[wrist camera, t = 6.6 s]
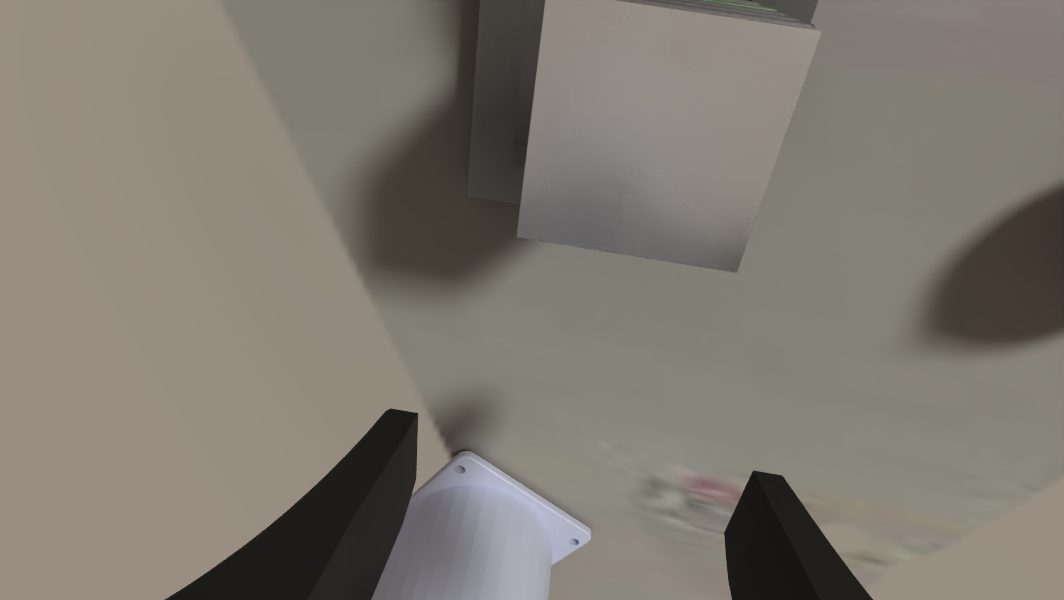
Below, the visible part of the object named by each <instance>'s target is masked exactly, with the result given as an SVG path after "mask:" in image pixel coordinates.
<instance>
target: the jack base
mask: <svg viewBox="0 0 1064 600" xmlns="http://www.w3.org/2000/svg"><path fill="white" fill-rule="evenodd" d="M749 1H755V2H759V5H761V6H763V7H769V8H774V9H776V10H777V11H776V12H783V13H786V14H787V16H789V17H795V18H798V19H800V21H799V22H805V23H811V20H812V17H813V14H814V11H815V8H816V5H817V2H818V0H749ZM544 7H545V0H480V7H479V22H478V36H477V51H476V65H475V80H474V94H473V109H472V123H471V137H470V152H469V166H468V181H467V195H466V197H472V198H478V199H485V200H491V201H497V202H503V203H510V204H516V205H520V204H521V196H522V188H523V180H524V171H525V163H526V155H527V147H528V139H529V130H530V122H531V114H532V106H533V98H534V89H535V81H536V73H537V65H538V57H539V48H540V40H541V32H542V24H543V16H544Z"/></svg>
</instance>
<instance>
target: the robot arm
mask: <svg viewBox="0 0 1064 600" xmlns="http://www.w3.org/2000/svg"><path fill="white" fill-rule="evenodd" d="M417 431H418V413H413V412H408V411H402V410H396V409H389V410H387V411H386V412H385V413H384V414H383V415H382V416H381V417H380V418H379V420H378V421H377V422H376V423H375V424H374V426H373V427H372V428H371V429H370V430H369V431H368V432H367V434H365V436H364V437H363V438H362V439H361V440H360V441H359V442H358V443H357V444H356V445H355V446H354V447H353V449H352V450H351V451H350V452H349V453H348V454H347V455H346V456H345V457H344V458H343V459H342V460H341V461H340V462H339V463H338V464H337V465H336V466H335V467H334V468H333V469H332V470H331V471H330V472H329V473H328V474H327V475H326V476H325V477H324V478H323V479H322V480H321V481H320V482H319V483H318V484H317V485H315V486H314V487H313V488H312V489H311V490H310V491H309V492H308V493H307V494H306V495H304V496H303V497H302V498H301V499H300V500H299V501H298V502H297V503H295V504H294V505H293V506H292V507H291V508H290V509H289V510H288V511H287V512H285V513H284V514H283V515H282V516H281V517H280V518H278V519H277V520H276V521H275V522H273V523H272V524H271V525H270V526H269V527H267V528H266V529H265V530H264V531H262V532H261V533H260V534H259V535H257V536H256V537H255V538H253V539H252V540H251V541H250V542H248V543H247V544H246V545H244V546H243V547H242V548H241V549H239V550H238V551H236V552H235V553H234V554H232V555H231V556H229V557H228V558H227V559H226V560H224V561H222V562H221V563H220V564H218V565H217V566H216V567H214V568H213V569H211V570H210V571H208V572H207V573H205V574H204V575H203V576H201V577H200V578H198V579H197V580H195V581H194V582H192V583H191V584H189V585H188V586H186V587H185V588H183V589H181V590H180V591H178V592H176V593H175V594H173V595H172V596H170V597H169V598H167V599H165V600H548V596H549V585H550V574H551V566H552V565H553V564H555V563H556V562H558V561H560V560H561V559H563V558H564V557H566V556H567V555H569V554H570V553H572V552H573V551H575V550H576V549H578V548H579V547H581V546H583V545H584V544H586V543H587V542H589V540H590V539H591V530H590V529H589V528H588V527H587V526H585V525H584V524H582V523H581V522H579V521H578V520H576V519H574V518H573V517H571V516H570V515H568V514H567V513H565V512H564V511H562V510H561V509H559V508H557V507H556V506H554V505H553V504H551V503H550V502H548V501H547V500H545V499H544V498H542V497H541V496H539V495H537V494H536V493H534V492H533V491H531V490H530V489H528V488H527V487H525V486H524V485H522V484H521V483H519V482H517V481H516V480H514V479H513V478H511V477H510V476H508V475H507V474H505V473H504V472H502V471H501V470H499V469H497V468H496V467H494V466H493V465H491V464H490V463H488V462H487V461H485V460H484V459H482V458H481V457H479V456H477V455H476V454H474V453H472V452H470V451H462V452H460V453H459V454H458V455H457V456H455V457H454V458H453V459H452V460H451V461H450V462H449V463H448V464H446V465H445V466H444V467H443V468H442V469H441V470H440V471H439V472H437V473H436V474H435V475H434V476H433V477H432V478H431V479H430V480H429V481H427V482H426V483H425V484H424V485H423V486H422V487H421V488H419V489H418V490H417V491H416V492H415V493H414V494H413V495H412V491H413V488H414V484H415V481H416V465H417ZM459 466H462V467H459ZM411 495H412V496H411ZM724 534H725V548H726V561H727V571H728V581H729V586H730V591H731V596H732V600H873V599H872V598H871V597H870V596H869V594H868V593H867V592H866V590H865V589H864V588H863V587H862V585H861V584H860V583H859V581H858V580H857V579H856V578H855V576H854V575H853V574H852V572H851V571H850V570H849V568H848V567H847V566H846V564H845V563H844V562H843V560H842V559H841V558H840V556H839V555H838V554H837V552H836V551H835V550H834V548H833V547H832V546H831V544H830V543H829V541H828V540H827V539H826V537H825V536H824V534H823V533H822V532H821V530H820V529H819V527H818V526H817V524H816V523H815V522H814V520H813V519H812V517H811V516H810V515H809V513H808V512H807V510H806V509H805V507H804V506H803V505H802V503H801V502H800V500H799V499H798V497H797V496H796V494H795V493H794V492H793V490H792V489H791V487H790V486H789V484H788V483H787V482H786V480H785V479H784V477H783V476H782V475H776V474H770V473H764V472H758V471H753V472H752V474H751V476H750V478H749V481H748V483H747V485H746V487H745V489H744V491H743V494H742V496H741V498H740V500H739V502H738V504H737V506H736V509H735V511H734V513H733V515H732V517H731V519H730V521H729V524H728V526H727V528H726V530H725V532H724Z"/></svg>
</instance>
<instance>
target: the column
mask: <svg viewBox="0 0 1064 600" xmlns="http://www.w3.org/2000/svg"><path fill="white" fill-rule="evenodd" d="M776 11H777V10H776V9H774V8H769V7H763V6H761V5H759V2H755V1H749V0H545V7H544V16H543V24H542V32H541V40H540V48H539V57H538V65H537V73H536V81H535V89H534V98H533V106H532V114H531V122H530V130H529V139H528V147H527V155H526V163H525V171H524V180H523V188H522V196H521V204H520V213H519V221H518V229H517V237H519V238H525V239H531V240H538V241H544V242H550V243H556V244H562V245H568V246H575V247H581V248H587V249H593V250H599V251H606V252H612V253H618V254H624V255H630V256H636V257H643V258H649V259H655V260H661V261H667V262H674V263H680V264H686V265H692V266H698V267H705V268H711V269H717V270H723V271H729V272H735V273H737V270H738V268H739V265H740V262H741V259H742V256H743V253H744V251H745V248H746V245H747V242H748V239H749V236H750V234H751V231H752V228H753V225H754V222H755V219H756V217H757V214H758V211H759V208H760V205H761V202H762V200H763V197H764V194H765V191H766V188H767V185H768V183H769V180H770V177H771V174H772V171H773V168H774V166H775V163H776V160H777V157H778V154H779V152H780V149H781V146H782V143H783V140H784V137H785V135H786V132H787V129H788V126H789V123H790V120H791V118H792V115H793V112H794V109H795V106H796V103H797V101H798V98H799V95H800V92H801V89H802V86H803V84H804V81H805V78H806V75H807V72H808V69H809V67H810V64H811V61H812V58H813V55H814V53H815V50H816V47H817V44H818V41H819V38H820V36H821V33H822V31H820V30H818V29H816V28H814V26H815V25H813V24H811V23H805V22H799V21H800V19H798V18H795V17H789V16H787V14H786V13H783V12H776Z"/></svg>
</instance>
